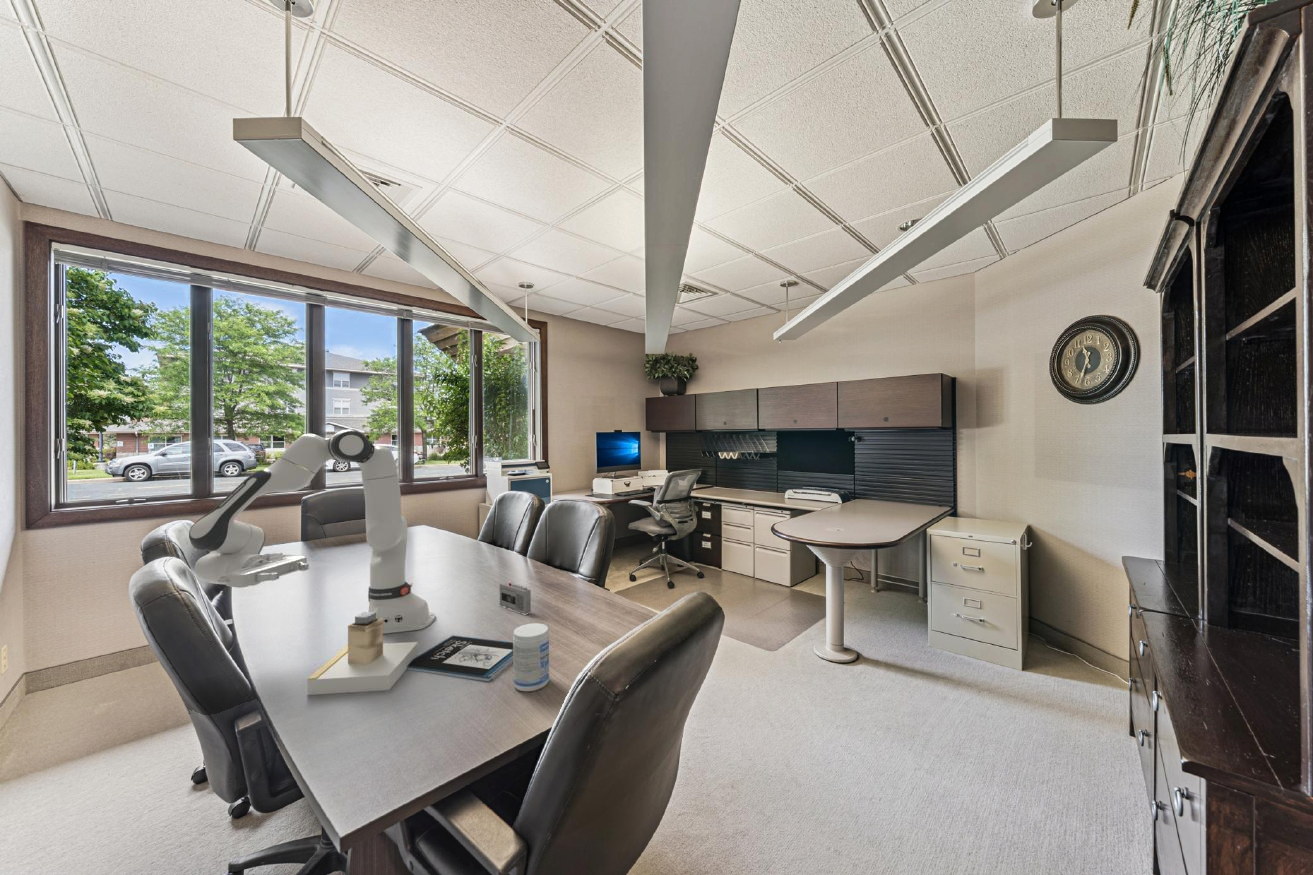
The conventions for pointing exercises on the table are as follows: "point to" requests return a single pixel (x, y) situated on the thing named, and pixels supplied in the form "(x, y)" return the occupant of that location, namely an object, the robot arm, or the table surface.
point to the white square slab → (362, 671)
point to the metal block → (365, 618)
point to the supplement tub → (531, 657)
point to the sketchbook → (466, 658)
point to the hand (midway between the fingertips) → (292, 571)
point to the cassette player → (515, 597)
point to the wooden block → (365, 642)
